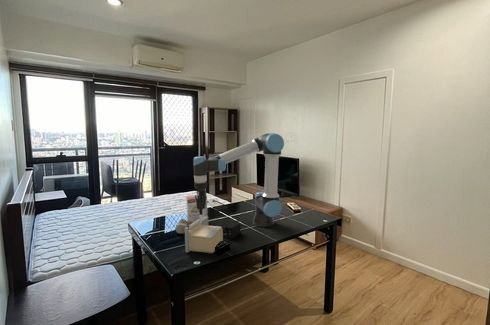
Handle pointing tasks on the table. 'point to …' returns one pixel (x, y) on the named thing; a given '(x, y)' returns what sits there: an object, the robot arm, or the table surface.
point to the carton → (202, 241)
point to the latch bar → (194, 223)
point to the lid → (204, 231)
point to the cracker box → (193, 209)
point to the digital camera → (232, 230)
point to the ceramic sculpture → (182, 226)
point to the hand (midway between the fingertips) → (202, 219)
